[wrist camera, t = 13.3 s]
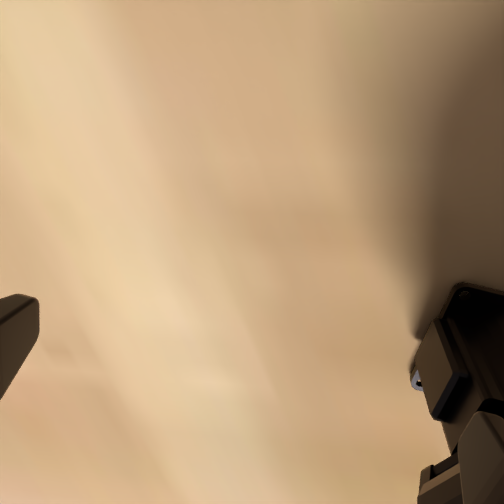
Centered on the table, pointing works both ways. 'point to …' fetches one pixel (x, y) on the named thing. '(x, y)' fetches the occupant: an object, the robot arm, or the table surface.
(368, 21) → the table surface
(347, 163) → the table surface
